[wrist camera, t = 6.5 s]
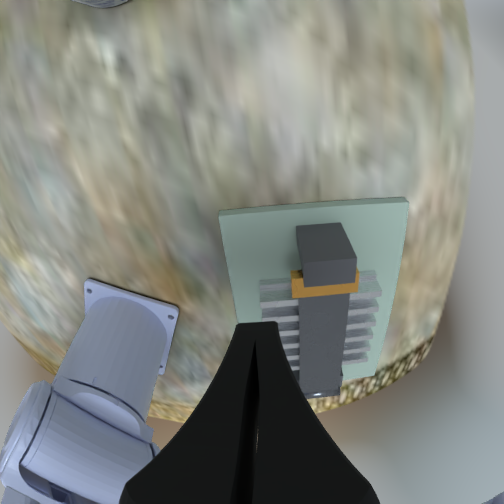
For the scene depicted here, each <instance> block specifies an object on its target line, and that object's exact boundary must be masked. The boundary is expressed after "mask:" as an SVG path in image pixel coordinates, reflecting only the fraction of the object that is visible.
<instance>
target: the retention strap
mask: <svg viewBox="0 0 504 504" xmlns="http://www.w3.org/2000/svg"><path fill="white" fill-rule="evenodd" d="M290 275H291V292H292V298H298V318H299V386H300V388H301V390H302V392H303V394H304V396H305V398H306V399H310V398H320V397H328V396H337V395H340V385H339V380H340V373H341V366H342V359H343V352H344V344H345V336H346V328H347V319H348V310H349V299H350V293H354V292H358V285H359V275H360V273H359V270H358V268H357V267H356V278H355V283H347V284H337V285H327V286H316V287H305V288H304V283H303V273H302V269H301V270H290Z"/></svg>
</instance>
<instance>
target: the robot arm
mask: <svg viewBox="0 0 504 504" xmlns="http://www.w3.org/2000/svg"><path fill="white" fill-rule="evenodd" d="M90 289H91V290H90ZM84 300H85V318H84V320H83V322H82V324H81V326H80V328H79V330H78V331H77V333H76V335H75V337H74V339H73V341H72V343H71V345H70V347H69V349H68V351H67V353H66V355H65V357H64V359H63V361H62V363H61V365H60V367H59V369H58V372H57V374H56V376H55V378H54V380H53V382H52V383H51V384H49V383H48V382H46V381H45V380H42V381H41V382H36V383H33V384H32V385H31V386H30V388H29V389H28V391H27V392H26V394H25V396H24V398H23V400H22V402H21V403H20V405H19V407H18V410H17V412H16V414H15V416H14V418H13V420H12V423H11V425H10V428H9V430H8V433H7V436H6V439H5V442H4V446H3V449H2V451H1V455H0V479H1V482H2V484H3V485H4V487H5V492H4V496H3V499H2V502H1V504H380V502H379V499H378V497H377V495H376V493H375V491H374V489H373V488H372V486H371V484H370V483H369V481H368V480H367V479H366V478H365V477H363V475H362V474H361V473H360V472H359V471H358V470H357V469H356V468H355V467H354V466H353V465H352V463H351V462H350V461H349V460H348V459H347V457H346V456H345V455H344V454H343V452H342V451H341V450H340V449H339V447H338V446H337V445H336V443H335V442H334V441H333V440H332V438H331V437H330V435H329V434H328V433H327V431H326V430H325V428H324V427H323V425H322V424H321V422H320V421H319V419H318V418H317V416H316V415H315V413H314V411H313V410H312V408H311V406H310V405H309V403H308V401H307V399H306V398H305V396H304V394H303V392H302V390H301V388H300V386H299V384H298V382H297V380H296V378H295V376H294V374H293V371H292V369H291V367H290V364H289V362H288V359H287V357H286V354H285V351H284V348H283V345H282V342H281V338H280V334H279V329H278V323H277V322H276V321H265V322H248V323H238V324H237V325H236V328H235V331H234V334H233V337H232V340H231V342H230V345H229V347H228V350H227V352H226V354H225V357H224V359H223V361H222V363H221V365H220V367H219V369H218V371H217V373H216V375H215V377H214V379H213V380H212V382H211V384H210V386H209V387H208V389H207V391H206V393H205V394H204V396H203V397H202V399H201V401H200V402H199V404H198V405H197V407H196V408H195V410H194V411H193V412H192V414H191V415H190V417H189V418H188V419H187V421H186V422H185V423H184V425H183V426H182V427H181V428H180V430H179V431H178V432H177V434H176V435H175V436H174V437H173V438H172V439H171V440H170V442H169V443H168V444H167V445H166V446H165V447H164V448H163V449H162V450H160V449H159V447H158V446H157V445H156V444H155V443H153V442H152V441H151V440H152V436H153V431H154V429H153V428H151V427H149V426H148V425H146V419H147V416H148V411H149V407H150V403H151V399H152V395H153V391H154V387H155V383H156V379H157V375H158V374H159V375H162V374H164V372H165V367H166V363H167V359H168V355H169V350H170V346H171V342H172V338H173V334H174V329H175V325H176V321H177V317H178V313H179V309H178V308H177V307H176V306H174V305H170V304H167V303H164V302H160V301H157V300H154V299H151V298H147V297H144V296H141V295H138V294H134V293H131V292H128V291H125V290H122V289H119V288H116V287H113V286H110V285H107V284H104V283H101V282H98V281H95V280H92V279H87V280H86V281H85V283H84ZM170 315H172V316H170ZM257 434H258V441H257ZM482 504H504V492H502V493H500V494H499V495H497V496H496V497H494V498H493V499H491V500H489V501H487V502H484V503H482Z"/></svg>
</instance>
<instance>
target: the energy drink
mask: <svg viewBox="0 0 504 504" xmlns="http://www.w3.org/2000/svg"><path fill="white" fill-rule="evenodd" d="M72 1H75V2H79V3H82V4H86V5H89V6H93V7H98V8H107V7H113V6H116V5H120V4H122V3H124V2H127V1H128V0H72Z"/></svg>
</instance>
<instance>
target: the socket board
mask: <svg viewBox="0 0 504 504" xmlns="http://www.w3.org/2000/svg"><path fill="white" fill-rule="evenodd" d="M408 208H409V202H408V201H407V199H406V198H405V197H398V198H377V199H358V200H342V201H326V202H312V203H299V204H286V205H274V206H263V207H252V208H241V209H231V210H221V211H219V215H218V218H219V224H220V229H221V235H222V240H223V246H224V251H225V257H226V262H227V268H228V273H229V278H230V284H231V289H232V294H233V299H234V305H235V310H236V315H237V320H238V323H248V322H262V308H261V307H260V280H268V279H281V278H291V275H290V270H301V269H302V273H303V283H304V288H305V287H316V286H327V285H337V284H347V283H355V278H356V267H357V268H358V270H359V271H368V270H375V272H376V275H377V276H376V278H377V280H378V283H379V285H380V287H381V289H382V295H381V297H376V300H377V302H378V305H379V311H378V312H374V316H375V319H376V326H373V327H371V328H372V331H373V334H374V335H373V339H369V342H370V346H371V348H370V351H366V352H367V355H368V361H367V362H362V363H355V364H348V365H342V366H341V373H340V380H339V385H340V387H341V385H342V380H347V379H354V378H361V377H368V376H374V374H375V371H376V367H377V364H378V360H379V357H380V353H381V349H382V346H383V342H384V338H385V334H386V330H387V326H388V322H389V318H390V313H391V309H392V304H393V300H394V295H395V290H396V285H397V280H398V275H399V269H400V264H401V258H402V252H403V245H404V239H405V232H406V224H407V216H408ZM292 371H293V374H294V376H295V378H296V380H297V382H298V384H299V370H292Z"/></svg>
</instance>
